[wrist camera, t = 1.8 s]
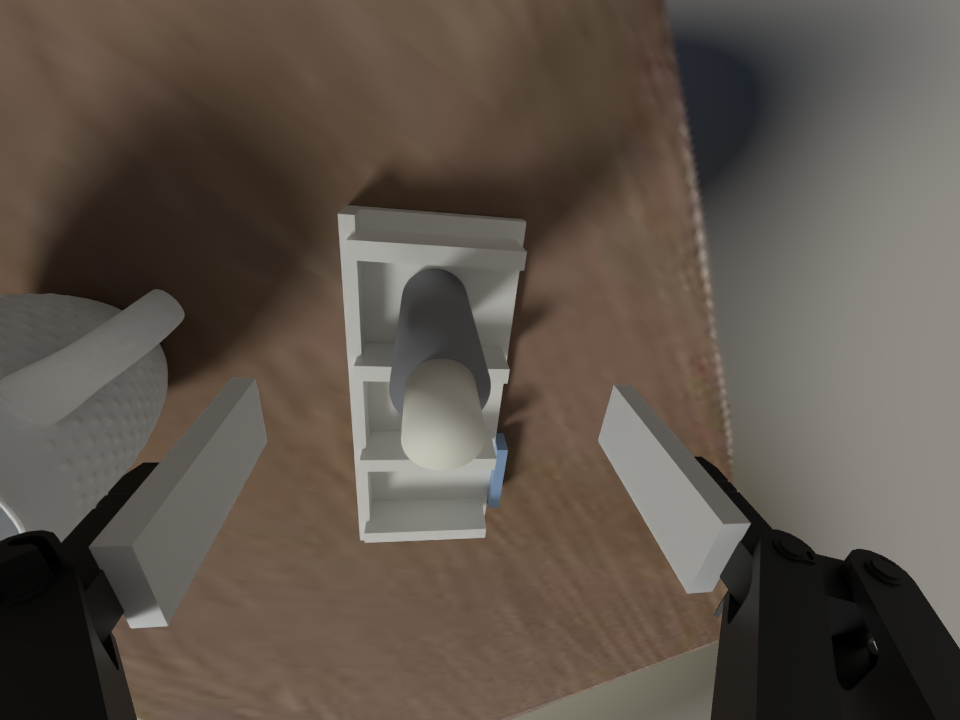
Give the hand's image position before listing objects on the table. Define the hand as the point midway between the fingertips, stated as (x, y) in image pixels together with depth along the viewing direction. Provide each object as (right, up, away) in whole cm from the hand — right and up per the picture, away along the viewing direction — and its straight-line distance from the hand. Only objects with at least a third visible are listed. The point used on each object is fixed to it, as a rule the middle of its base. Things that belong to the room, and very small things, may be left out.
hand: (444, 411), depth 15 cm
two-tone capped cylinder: (-1, +6, +9) cm, 11 cm away
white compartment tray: (-2, 0, +14) cm, 14 cm away
